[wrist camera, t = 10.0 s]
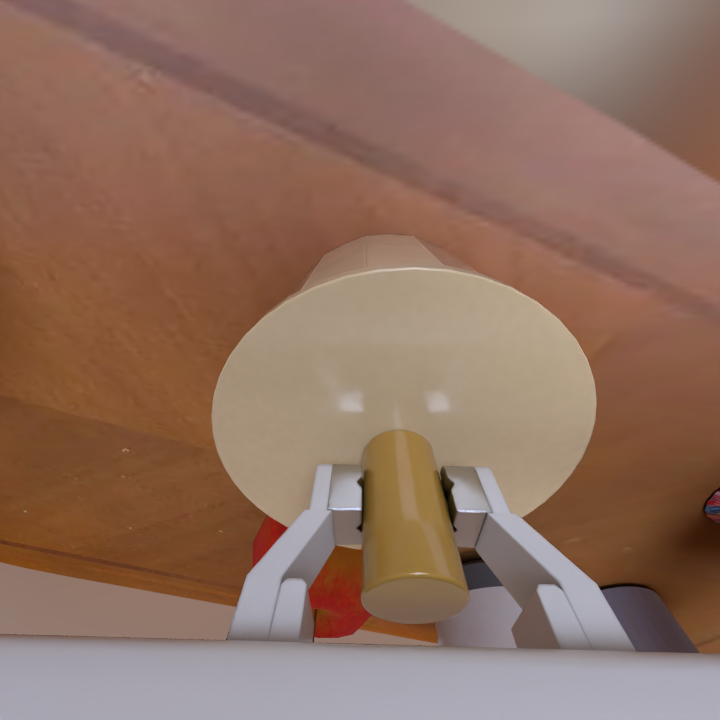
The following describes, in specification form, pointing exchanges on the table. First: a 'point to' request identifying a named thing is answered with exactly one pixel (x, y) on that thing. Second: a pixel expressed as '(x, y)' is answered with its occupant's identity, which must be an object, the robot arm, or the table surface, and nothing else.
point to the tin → (378, 256)
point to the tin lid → (404, 413)
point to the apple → (326, 585)
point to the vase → (714, 507)
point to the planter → (481, 613)
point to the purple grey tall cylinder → (647, 620)
